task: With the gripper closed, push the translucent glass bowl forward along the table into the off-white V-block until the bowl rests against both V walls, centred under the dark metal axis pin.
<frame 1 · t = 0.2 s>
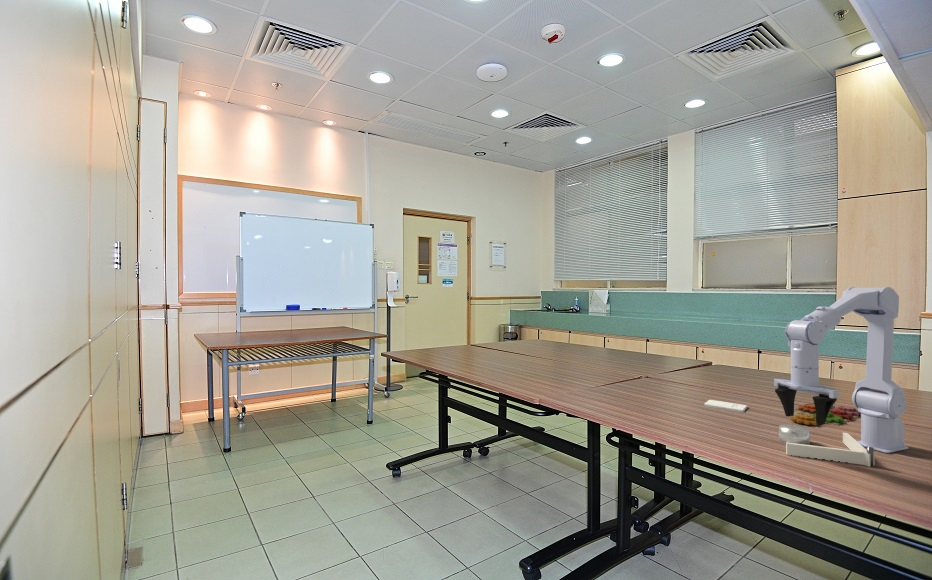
hand: (804, 419, 114), 10 cm above the table, tool pointing down, fingers open, 7 cm apart
translucent glass bowl: (794, 442, 127), on the table
gear puzzle: (817, 418, 150), on the table
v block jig: (845, 457, 114), on the table
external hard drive: (725, 409, 163), on the table
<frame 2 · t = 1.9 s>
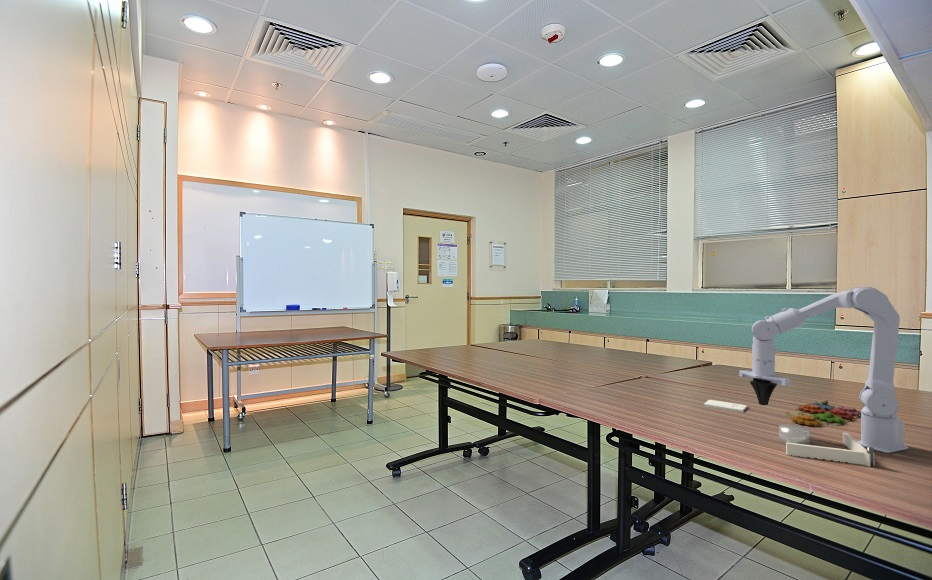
hand: (763, 404, 135), 8 cm above the table, tool pointing down, fingers closed
nothing on the table moved.
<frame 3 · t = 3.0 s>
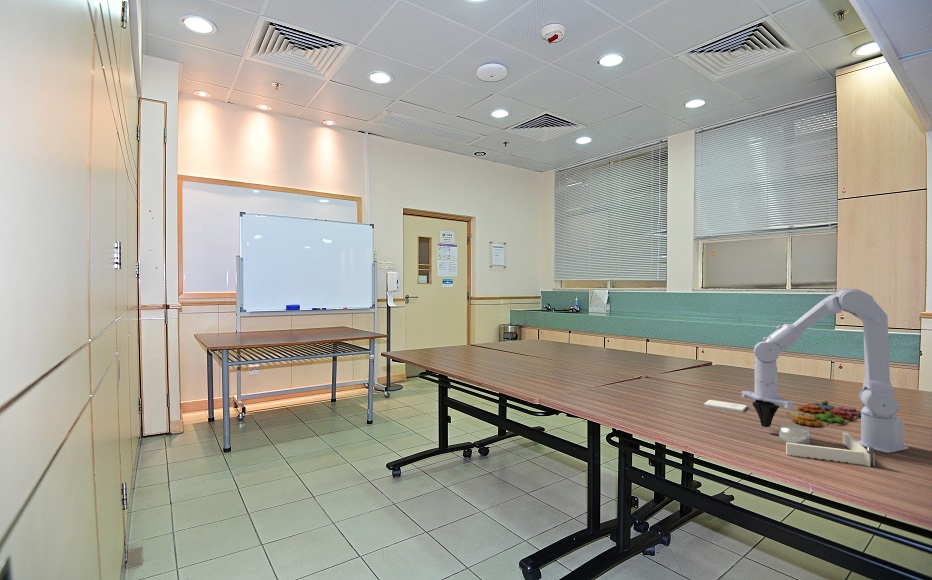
hand: (765, 426, 134), 2 cm above the table, tool pointing down, fingers closed
nothing on the table moved.
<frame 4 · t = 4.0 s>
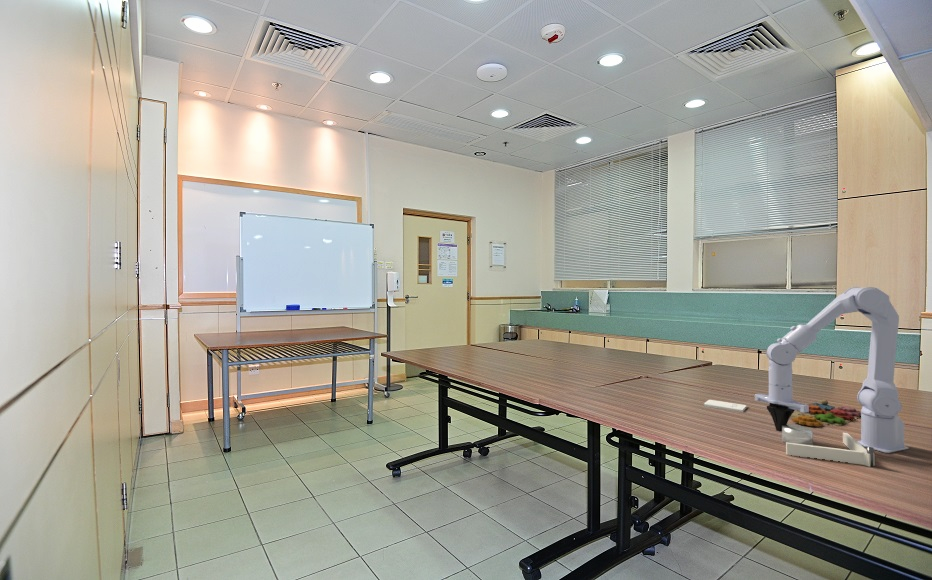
hand: (780, 430, 130), 2 cm above the table, tool pointing down, fingers closed
translucent glass bowl: (797, 442, 126), on the table, touching gripper
everything else where it was.
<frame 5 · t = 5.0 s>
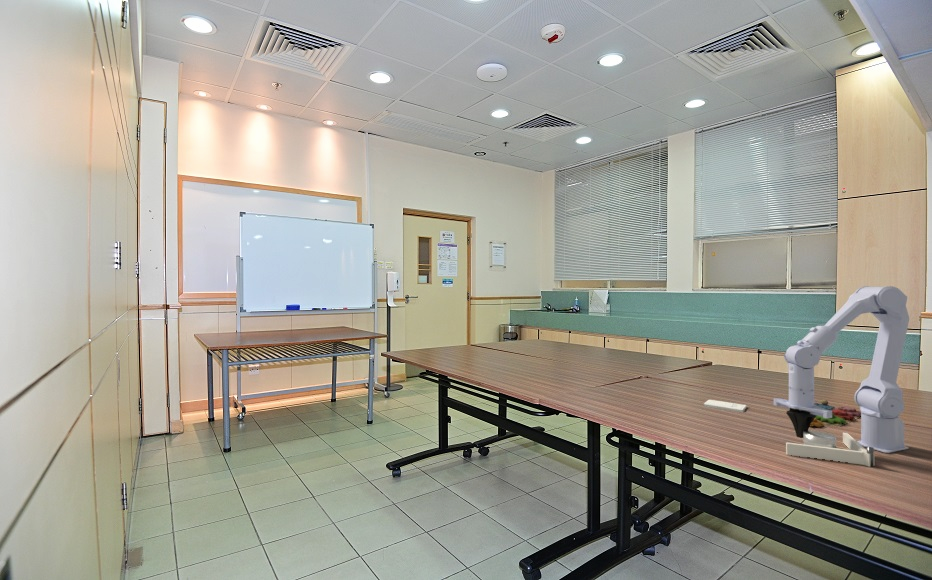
hand: (801, 437, 125), 2 cm above the table, tool pointing down, fingers closed
translucent glass bowl: (819, 449, 120), on the table, touching gripper
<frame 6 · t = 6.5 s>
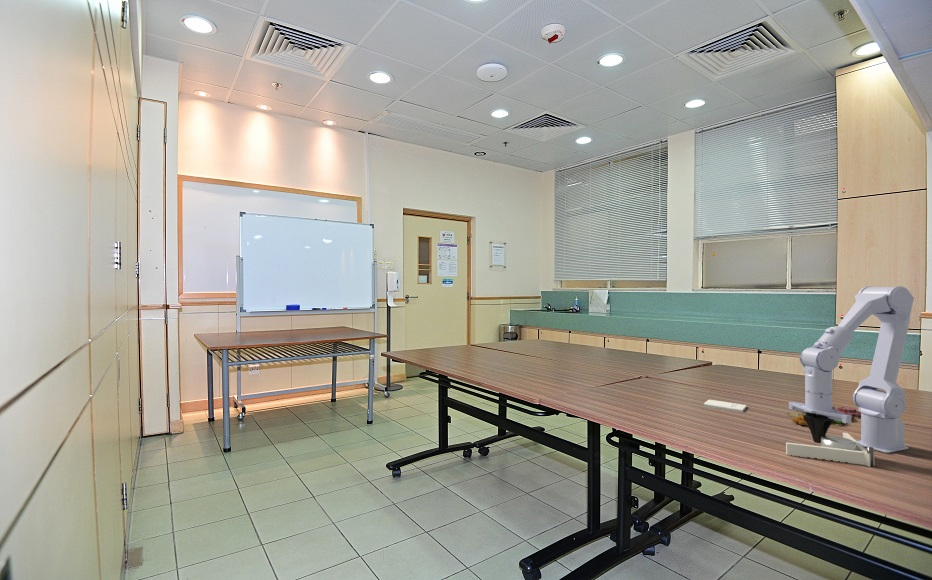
hand: (818, 442, 120), 2 cm above the table, tool pointing down, fingers closed
translucent glass bowl: (837, 455, 116), on the table, touching gripper
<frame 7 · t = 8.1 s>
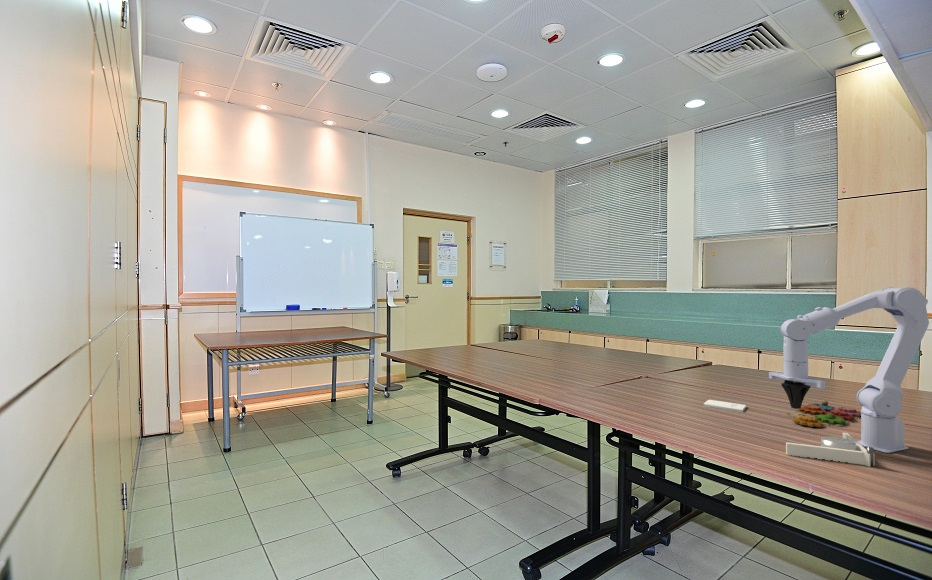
hand: (795, 408, 128), 9 cm above the table, tool pointing down, fingers closed
translucent glass bowl: (837, 456, 116), on the table
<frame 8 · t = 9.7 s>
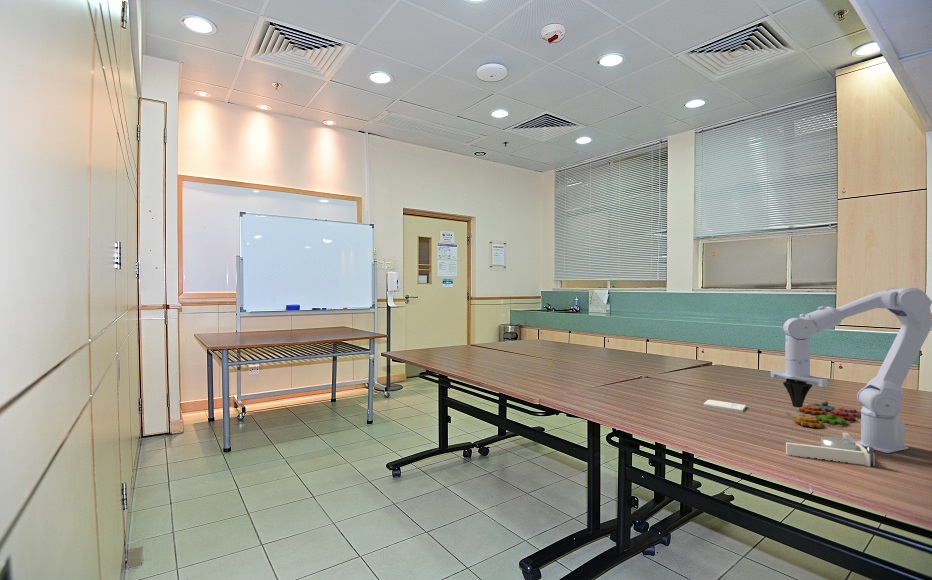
hand: (797, 406, 128), 9 cm above the table, tool pointing down, fingers closed
at the end: translucent glass bowl 0.2 cm from the target spot, on the table; translucent glass bowl tilted 0°; the gripper is holding nothing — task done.
